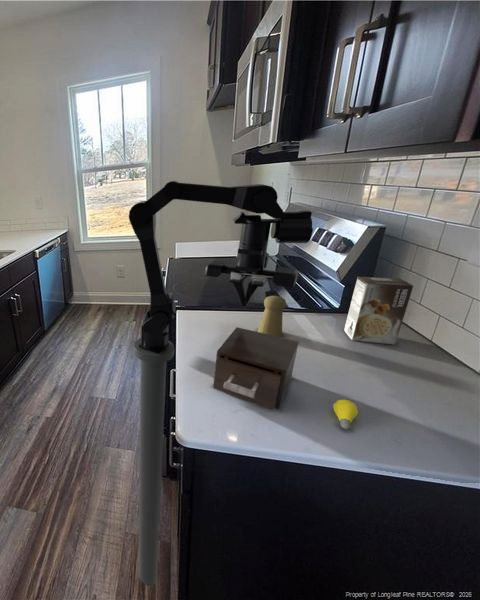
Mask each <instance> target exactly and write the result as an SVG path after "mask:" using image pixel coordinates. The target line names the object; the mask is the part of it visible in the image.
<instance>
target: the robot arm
mask: <svg viewBox="0 0 480 600" xmlns="http://www.w3.org/2000/svg"><path fill="white" fill-rule="evenodd" d="M278 198H279V196H278V192H277V190H276V189H275V188H274V187H273V186H272V185H267V184H262V183H257V184H244V185H234V186H223V185H211V184H201V183H191V182H190V183H189V182H188V183H186V182H179V181H176V180H171V181H168V182H167V183H165V185H164V186H163V187H162V188H161V189H159V190H158V191H157V192H156V193H155V194H153V195H152V196H151V197H149V198H148V199H147V200H141V201H138V202H136V203H134V205H132V206H131V208H130V210H129V212H128V220H129V223H130V226H131V228H132V230H133V232H134V234H135V236H136V238H137V240H138V243H139V246H140V250H141V256H142V259H143V264H144V269H145V274H146V278H147V279H146V280H147V284H148V288H149V293H150V295H149V298H150V299H149V310H147V311H146V312H145V314H144V316H143V320H142V323H141V336H140V338H141V344H139V345H138V347H139V348H142V349H145V350H148V351H151V352H154V353H157V354H159V353H161V352H162V351H163V350H164V349H165V348H166V347H167V346H168V345H169V343H168V340H169V337H170V336H169V334H170V333H169V332H168V326H169V325H171V323H172V322H173V320H174V315H176V309H177V304H176V302H175V300H174V299H175V298H174V291H172V292H169V291H168V290H167V288H166V283H165V280H164V275H163V269H162V264H161V260H160V254H159V249H158V243H157V239H156V227H157V224H156V223H157V220H156V219H157V218H156V217H157V216H156V214H157V213H158V212H159V211H161V210H162V209H163V208H165V207H166V206H167V205H169V203H171V202H172V201H174V200H179V201H190V202H198V203H209V204H217V205H227V206H229V207H230V206H231V207H234V208H237V209H240V210H244V211H246V212H251V213H254V214H245V212H243V211H240V212H239V214H238V215H237V216H235V217H234V218H232V222H233V223H234V224H235V225H240V235H239V244H238V248H237V251H236V257H235V259H236V265H235V266H232V265H230V263H229V261H225V260H224V261H223V260H216V259H214V260H212V261H211V262H210V263H208V264H207V265H206V266H205V269H204V270H205V271H204V275H205V277H211V278H219V277H220V276H222V275H223V274H227V275H230V278H229V279H228V283H231V284H233V286H234V288H235V290H236V293H237V294H238V299H239V301H240V304H241V307H243V308H247V306H248V304H249V303H250V301H251V299H252V297H253V296H254V294H255V292H256V290H257V289H258V288H259V287H260V288H261V287H264V286H265V285H266V283H267V282H268V280H272V282H273V284H275V286H277V287H285V288H294V287H295V285H296V283H297V282H298V276H299V271H298V270H297V269H296V268H291V267H283V266H281V267H280V266H278V267H277V269H276V270H268V269H266V268H267V267H268V263H269V258H270V253H268V252H267V251H268V246H269V237H270V238H271V239H273V240H275V243H276V244H308V243H309V242H310V241H311V239H312V237H313V232H314V228H313V219H312V215H313V212H312V211H310V210H299V211H284V209H283V208H282V207H281V206H280V204H279V203H278ZM261 214H265V215H267V216H269V217H270V218H262V216H261ZM249 277H251V280H250V281H249V282H248V278H249ZM247 283H248V285H247Z"/></svg>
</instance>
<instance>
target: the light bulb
mask: <svg viewBox="0 0 480 600" xmlns="http://www.w3.org/2000/svg"><path fill="white" fill-rule="evenodd" d="M332 407H333V412H334V414H335V416H337V417H338V421H340V427H341V428H343V429H344V430H348V429H350V428H351V423H353V420H354V419H355V418H356V417H357V416H358V414H359V411H358V407H357V405H356V404H355V403H354V402H352V401H351V400H349V399H344V398H343V399H338V400H336V402H334V403H333V406H332Z"/></svg>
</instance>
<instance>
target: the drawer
mask: <svg viewBox="0 0 480 600" xmlns="http://www.w3.org/2000/svg"><path fill="white" fill-rule="evenodd" d="M215 366H216V372H215V371H214V376H215V381H214V380H213V384H214V387H213V389H214V390H217V391H219V392H223V393H225V394H229V395H231V396H234V397H237V398H239V399H242V400H245V401H247V402H250V403H253V404H256V405H259V406H261V407H265V408H267V409H270V410H273V411H275V410H276V409H275V407H276V402H277V397H278V392H279V387H280V382H281V377H282V375H281V373H280V372H277V371H273V370H270V369H266V368H263V367H259V366H256V365H253V364H249V363H246V362H242V361H239V360H235V359H232V358H228V357H225V356H224V358H221V357H218V358H217V363H216V362H215Z"/></svg>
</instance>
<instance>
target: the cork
mask: <svg viewBox="0 0 480 600" xmlns="http://www.w3.org/2000/svg"><path fill="white" fill-rule="evenodd" d="M263 306H264V311H263V313H262V317H261V320H260V324H259V326H258V329H257V332H260V333H264V334H269V335H273V336H278V337H282V336H283V316H284V315H283V312H284V311H283V310H285V308H286V307H287V301H286V299H285V298H284V297H282V296H279V295H269V296H267V297H266V298H265V299H264V301H263Z"/></svg>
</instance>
